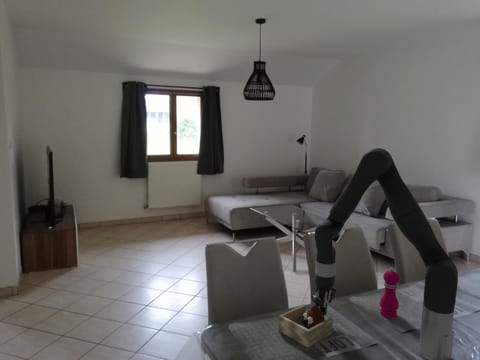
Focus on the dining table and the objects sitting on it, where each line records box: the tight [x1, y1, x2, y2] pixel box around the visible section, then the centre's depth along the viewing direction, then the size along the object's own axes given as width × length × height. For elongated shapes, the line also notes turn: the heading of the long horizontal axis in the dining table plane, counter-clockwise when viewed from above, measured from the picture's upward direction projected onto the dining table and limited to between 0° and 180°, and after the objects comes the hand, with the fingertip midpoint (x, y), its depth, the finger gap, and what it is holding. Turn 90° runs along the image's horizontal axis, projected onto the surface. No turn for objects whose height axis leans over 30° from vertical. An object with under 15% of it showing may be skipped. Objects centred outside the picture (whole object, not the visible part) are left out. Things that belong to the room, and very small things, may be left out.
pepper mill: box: [379, 267, 400, 319], centre depth 158 cm, size 7×7×20 cm
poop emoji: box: [302, 304, 326, 329], centre depth 149 cm, size 10×8×9 cm
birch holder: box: [278, 304, 334, 348], centre depth 145 cm, size 14×14×6 cm
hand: (322, 314), depth 153 cm, fingers closed
